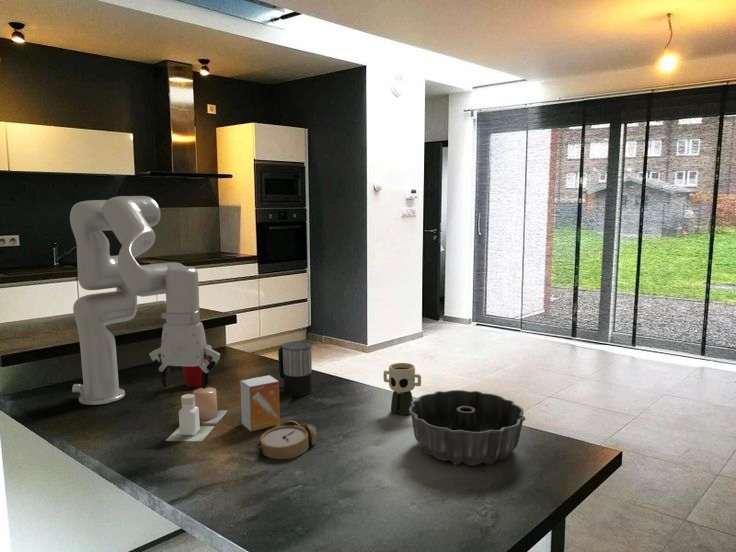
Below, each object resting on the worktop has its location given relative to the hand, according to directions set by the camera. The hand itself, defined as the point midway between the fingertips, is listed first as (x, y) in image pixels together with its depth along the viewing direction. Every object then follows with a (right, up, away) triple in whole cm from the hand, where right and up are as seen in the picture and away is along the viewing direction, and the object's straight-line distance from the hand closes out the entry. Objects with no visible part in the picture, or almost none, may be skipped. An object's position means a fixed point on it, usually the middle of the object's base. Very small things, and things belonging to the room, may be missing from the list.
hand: (186, 386), depth 142 cm
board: (+1, -13, +7) cm, 14 cm away
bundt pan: (+67, -14, -7) cm, 69 cm away
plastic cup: (-10, -8, +43) cm, 45 cm away
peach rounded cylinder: (+1, -10, +12) cm, 16 cm away
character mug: (+54, -11, +17) cm, 58 cm away
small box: (+17, -13, +7) cm, 22 cm away
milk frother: (+19, -9, +34) cm, 40 cm away
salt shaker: (+1, -12, +1) cm, 12 cm away
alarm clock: (+26, -14, -3) cm, 30 cm away
